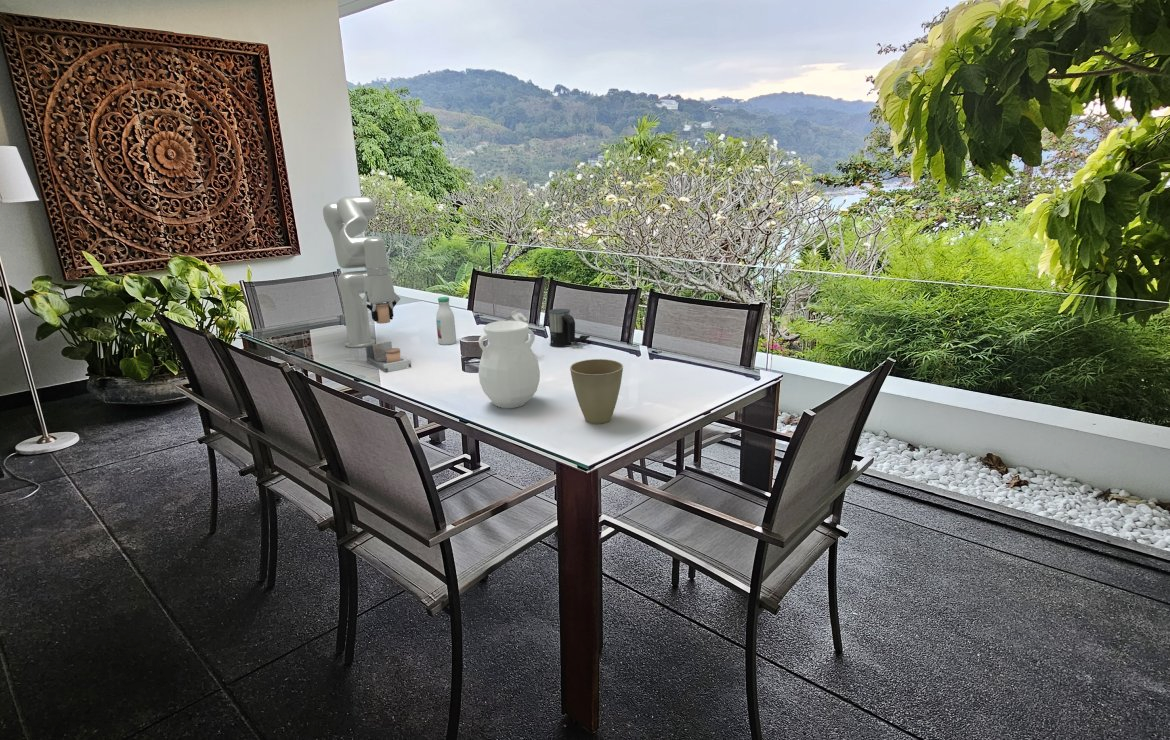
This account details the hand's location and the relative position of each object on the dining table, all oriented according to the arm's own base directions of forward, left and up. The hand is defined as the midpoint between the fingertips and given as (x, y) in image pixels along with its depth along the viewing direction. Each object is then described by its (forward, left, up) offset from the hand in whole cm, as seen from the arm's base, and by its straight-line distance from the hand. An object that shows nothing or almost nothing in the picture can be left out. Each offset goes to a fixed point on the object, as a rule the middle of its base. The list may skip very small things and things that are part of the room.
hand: (383, 319), depth 233 cm
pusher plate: (-7, 0, -17) cm, 18 cm away
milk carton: (+27, +42, -18) cm, 53 cm away
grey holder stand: (+1, 0, -17) cm, 17 cm away
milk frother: (+22, +71, -18) cm, 76 cm away
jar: (0, 0, -1) cm, 1 cm away
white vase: (+71, +13, -18) cm, 74 cm away
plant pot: (+99, +25, -18) cm, 104 cm away
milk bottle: (-15, +32, -18) cm, 39 cm away
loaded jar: (+7, 0, -17) cm, 19 cm away
